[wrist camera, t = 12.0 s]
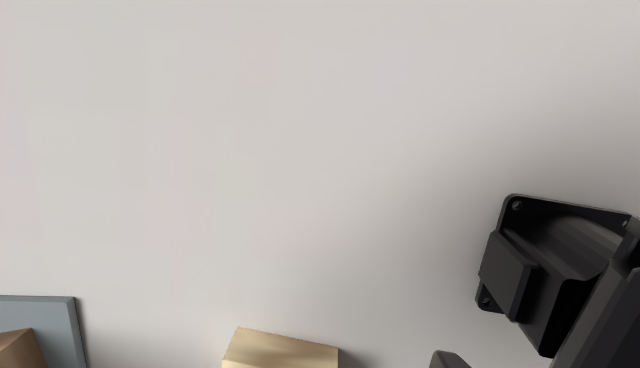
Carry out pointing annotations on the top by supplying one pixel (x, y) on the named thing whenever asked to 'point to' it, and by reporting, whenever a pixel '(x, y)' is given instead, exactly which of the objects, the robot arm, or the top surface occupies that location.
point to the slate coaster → (46, 326)
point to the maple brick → (276, 352)
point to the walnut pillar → (20, 350)
